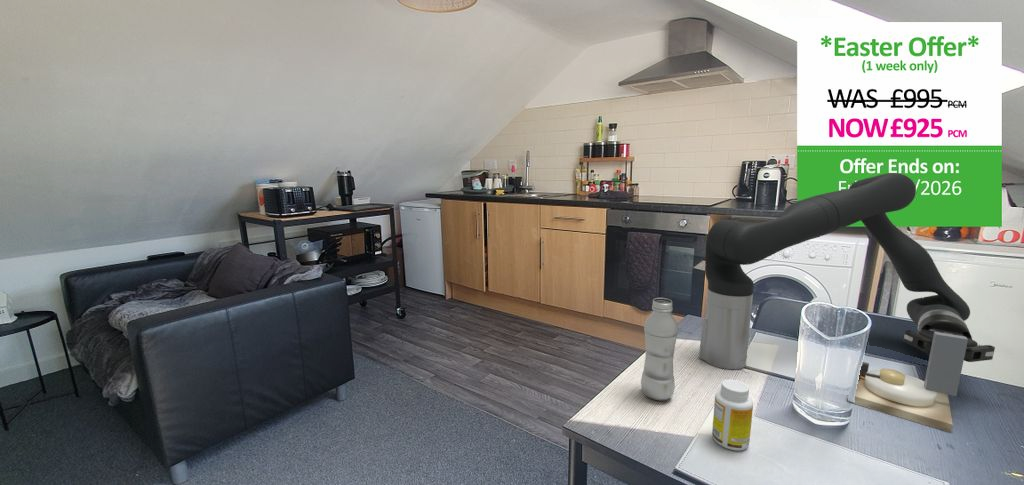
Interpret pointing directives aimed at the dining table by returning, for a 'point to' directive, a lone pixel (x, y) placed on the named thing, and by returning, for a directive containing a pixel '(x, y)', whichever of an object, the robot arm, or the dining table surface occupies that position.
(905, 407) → the level stand
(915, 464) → the dining table surface
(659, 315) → the plastic bottle
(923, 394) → the dial
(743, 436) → the supplement bottle
